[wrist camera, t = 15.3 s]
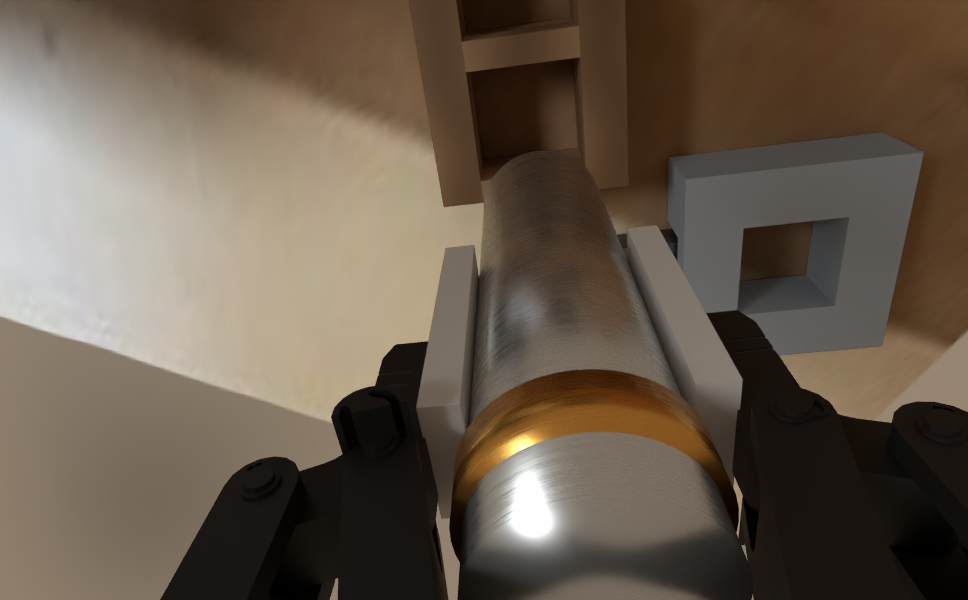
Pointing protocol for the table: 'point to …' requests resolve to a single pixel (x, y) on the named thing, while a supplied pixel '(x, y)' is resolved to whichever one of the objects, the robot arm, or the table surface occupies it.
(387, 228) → the table surface
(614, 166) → the rack
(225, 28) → the table surface
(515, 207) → the rod
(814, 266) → the socket block
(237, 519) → the robot arm
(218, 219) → the table surface
